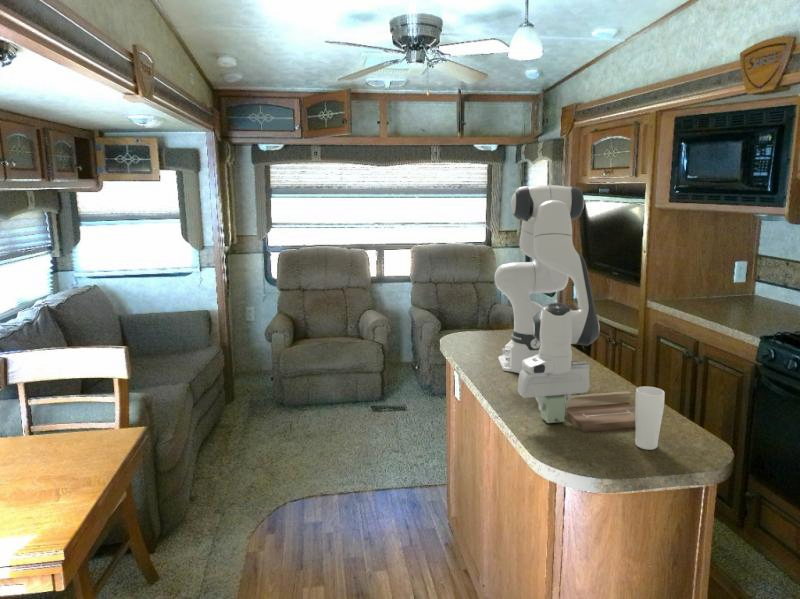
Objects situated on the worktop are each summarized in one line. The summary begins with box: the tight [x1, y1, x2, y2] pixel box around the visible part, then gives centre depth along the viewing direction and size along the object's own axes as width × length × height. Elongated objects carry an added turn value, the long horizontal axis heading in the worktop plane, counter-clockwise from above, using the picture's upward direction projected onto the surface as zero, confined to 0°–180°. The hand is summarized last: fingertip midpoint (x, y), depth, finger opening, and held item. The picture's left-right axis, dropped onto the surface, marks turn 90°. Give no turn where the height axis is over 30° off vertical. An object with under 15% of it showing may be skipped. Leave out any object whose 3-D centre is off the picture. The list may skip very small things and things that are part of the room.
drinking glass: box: [634, 385, 666, 451], centre depth 149 cm, size 7×7×15 cm
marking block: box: [540, 395, 566, 424], centre depth 165 cm, size 6×5×7 cm
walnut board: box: [564, 390, 635, 433], centre depth 167 cm, size 14×21×5 cm, turn 100°
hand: (552, 409), depth 166 cm, fingers closed on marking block, 5 cm apart
